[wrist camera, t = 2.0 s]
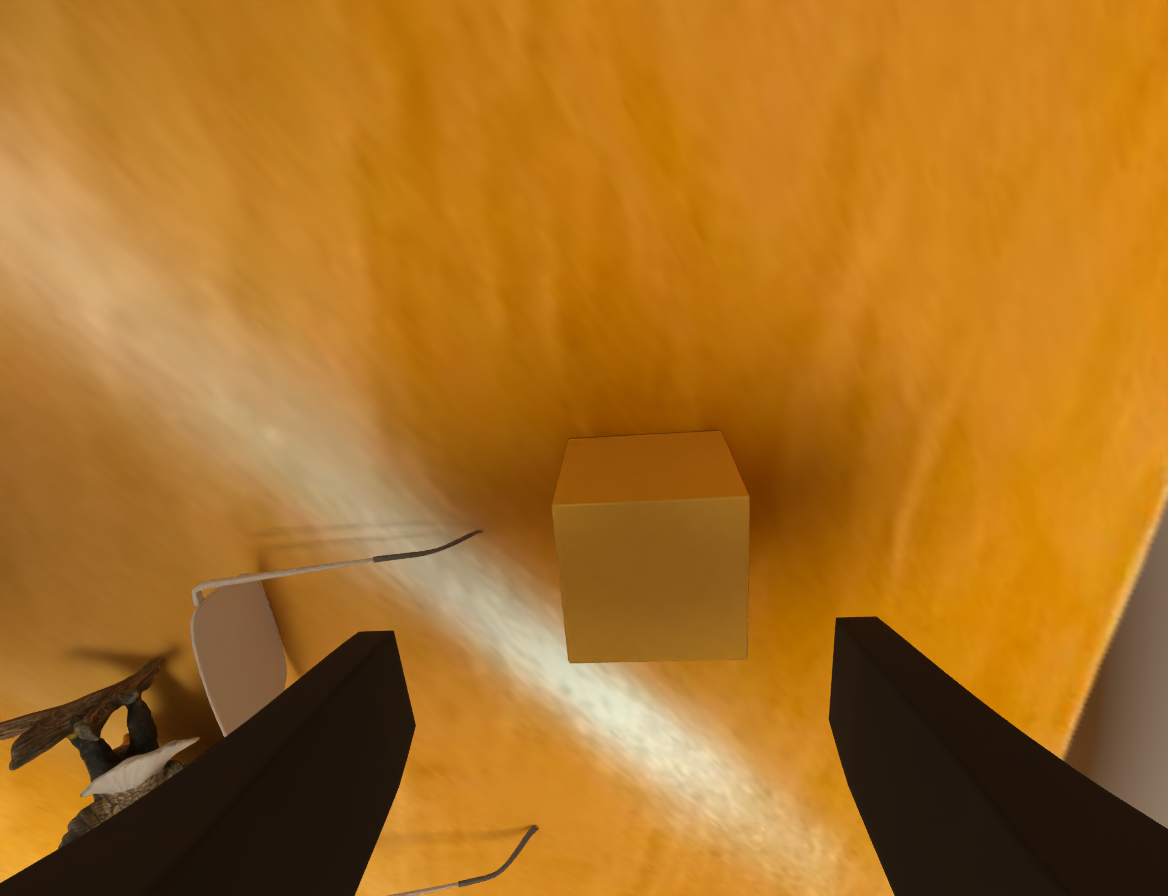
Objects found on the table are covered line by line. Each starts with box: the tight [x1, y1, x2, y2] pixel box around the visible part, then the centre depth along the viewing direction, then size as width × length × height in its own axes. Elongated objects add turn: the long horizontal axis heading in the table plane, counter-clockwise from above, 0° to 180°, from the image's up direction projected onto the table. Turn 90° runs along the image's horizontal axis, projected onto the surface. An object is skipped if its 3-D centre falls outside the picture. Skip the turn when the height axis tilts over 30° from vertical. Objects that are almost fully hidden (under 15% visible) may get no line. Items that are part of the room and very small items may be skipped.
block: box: [551, 431, 750, 663], centre depth 17 cm, size 4×4×4 cm
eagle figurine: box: [0, 658, 200, 849], centre depth 21 cm, size 8×7×9 cm
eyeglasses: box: [191, 530, 539, 896], centre depth 21 cm, size 14×8×4 cm, turn 6°
